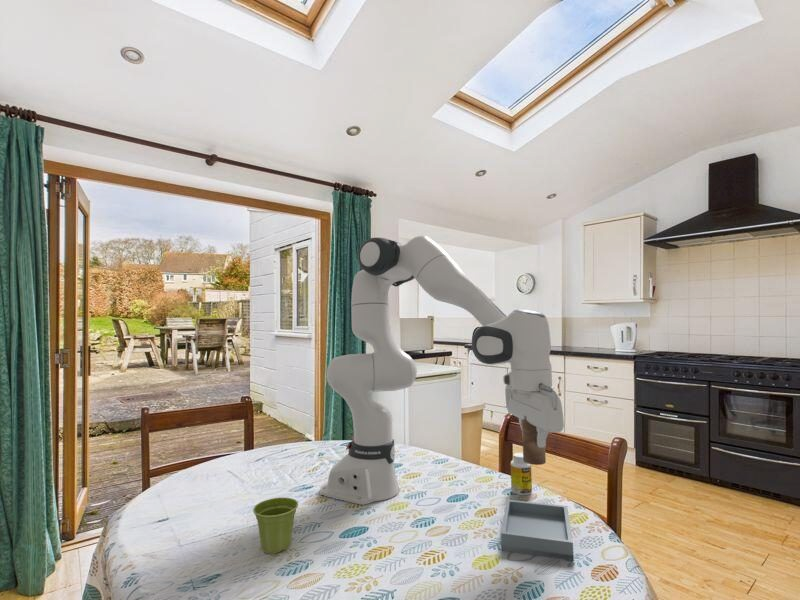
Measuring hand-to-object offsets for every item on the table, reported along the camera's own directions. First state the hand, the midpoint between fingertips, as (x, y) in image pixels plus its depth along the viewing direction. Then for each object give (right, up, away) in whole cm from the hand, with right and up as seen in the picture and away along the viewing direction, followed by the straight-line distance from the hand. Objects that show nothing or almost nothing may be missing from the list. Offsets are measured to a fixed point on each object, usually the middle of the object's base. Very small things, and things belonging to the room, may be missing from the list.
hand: (533, 442), depth 96 cm
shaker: (0, -4, 0) cm, 4 cm away
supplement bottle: (+4, -21, +22) cm, 31 cm away
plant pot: (-57, -22, -3) cm, 61 cm away
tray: (0, -20, -1) cm, 20 cm away
